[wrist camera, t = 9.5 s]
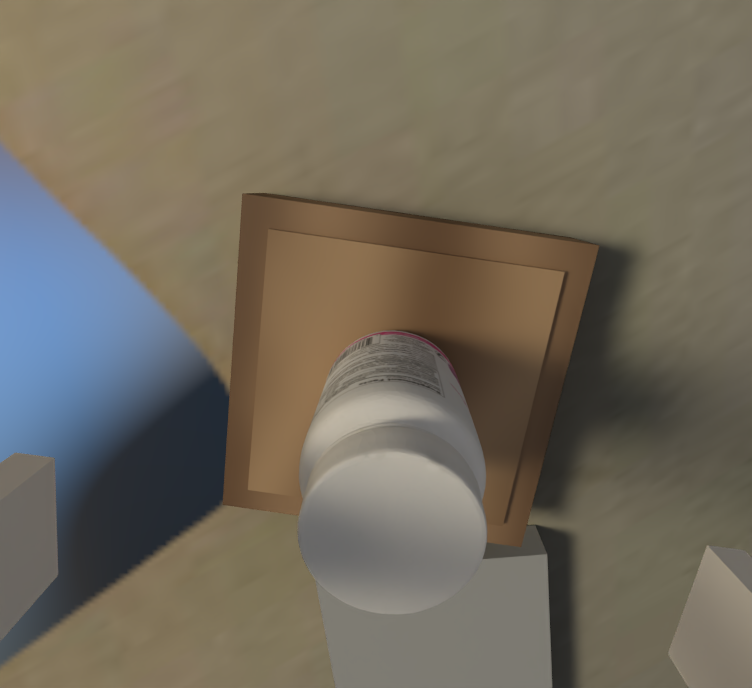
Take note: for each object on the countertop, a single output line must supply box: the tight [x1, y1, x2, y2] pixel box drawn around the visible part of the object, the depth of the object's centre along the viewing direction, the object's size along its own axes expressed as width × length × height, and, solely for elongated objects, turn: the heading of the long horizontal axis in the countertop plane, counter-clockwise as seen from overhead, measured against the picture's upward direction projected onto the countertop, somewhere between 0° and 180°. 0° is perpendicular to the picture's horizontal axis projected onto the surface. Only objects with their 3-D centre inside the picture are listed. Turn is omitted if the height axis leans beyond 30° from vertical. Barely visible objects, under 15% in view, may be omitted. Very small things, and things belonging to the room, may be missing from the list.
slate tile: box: [315, 525, 552, 688], centre depth 25 cm, size 10×10×2 cm
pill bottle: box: [298, 330, 487, 614], centre depth 15 cm, size 5×5×8 cm
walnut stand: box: [223, 193, 599, 547], centre depth 20 cm, size 12×12×3 cm
